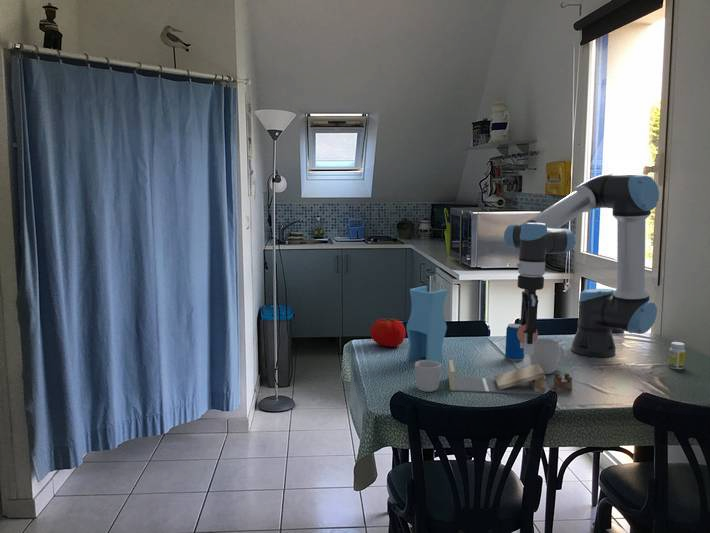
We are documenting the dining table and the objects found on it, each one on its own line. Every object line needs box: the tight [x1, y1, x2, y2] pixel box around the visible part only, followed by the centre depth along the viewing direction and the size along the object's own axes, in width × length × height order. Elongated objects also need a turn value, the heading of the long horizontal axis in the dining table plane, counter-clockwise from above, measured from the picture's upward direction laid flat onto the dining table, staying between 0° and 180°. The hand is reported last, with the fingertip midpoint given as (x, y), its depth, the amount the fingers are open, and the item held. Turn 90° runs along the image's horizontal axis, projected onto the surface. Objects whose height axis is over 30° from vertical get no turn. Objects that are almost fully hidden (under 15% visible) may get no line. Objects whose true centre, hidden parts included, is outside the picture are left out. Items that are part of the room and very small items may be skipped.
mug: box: [529, 337, 565, 375], centre depth 211 cm, size 13×9×10 cm
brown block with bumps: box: [553, 372, 573, 392], centre depth 193 cm, size 5×5×4 cm
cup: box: [414, 359, 442, 393], centre depth 193 cm, size 11×8×8 cm
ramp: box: [494, 363, 547, 392], centre depth 194 cm, size 14×9×6 cm, turn 84°
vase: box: [405, 285, 448, 363], centre depth 219 cm, size 10×10×25 cm
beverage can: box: [504, 323, 525, 362], centre depth 223 cm, size 6×6×12 cm
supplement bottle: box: [668, 341, 686, 370], centre depth 215 cm, size 5×5×8 cm
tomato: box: [370, 317, 407, 348], centre depth 239 cm, size 13×12×11 cm
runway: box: [447, 359, 551, 396], centre depth 195 cm, size 30×12×6 cm, turn 84°
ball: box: [517, 324, 539, 343], centre depth 192 cm, size 6×6×6 cm
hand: (526, 350), depth 193 cm, fingers closed on ball, 6 cm apart
